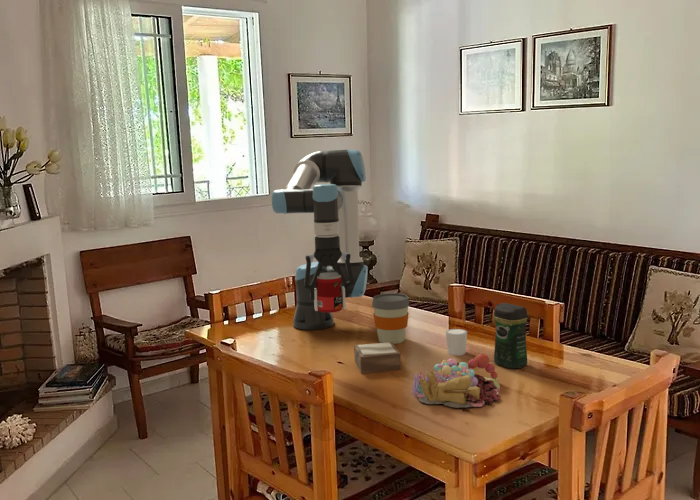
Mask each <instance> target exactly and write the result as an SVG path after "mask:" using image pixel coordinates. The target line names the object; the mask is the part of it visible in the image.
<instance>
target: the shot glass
mask: <svg viewBox="0 0 700 500" xmlns="http://www.w3.org/2000/svg"><path fill="white" fill-rule="evenodd" d="M467 338H468V331H467V330H465V329H462V328H450V329H447V330H446V331H445V339H446V349H447V354H448V355H450V356H463V355H465V354H466V351H467V340H468V339H467Z"/></svg>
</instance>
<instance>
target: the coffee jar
mask: <svg viewBox="0 0 700 500" xmlns="http://www.w3.org/2000/svg"><path fill="white" fill-rule="evenodd" d="M493 311H494V312H493V319H494V324H495V337H494V338H495V339H494V350H493V351H494V352H493V353H494V354H493V362H494V364H497V365H499V366H501V367H504V368H506V369H507V368H508V369H521V367H522V368H523V367H525V366H527V365H528V351H527V335H526V326H527V322H528V311H527V308H526V307H525V306H520V305H516V304H511V303H507V302H502V303H498V304H496V305H495V307H494V310H493Z"/></svg>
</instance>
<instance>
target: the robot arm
mask: <svg viewBox="0 0 700 500" xmlns="http://www.w3.org/2000/svg"><path fill="white" fill-rule="evenodd" d="M366 178H367V177H366V168H365V162H364V157H363V154H362V152H361V151H360V150H359V149H339V150H338V149H337V150H336V149H335V150H319V151H314V152H312V153H309V154H307V155H305V156H304V157H302V158H301V159H299V160H298V161H297V163H296V164H295V166H294V168H293V175H292V176H291V178H290V180H288V182H287V184H286V186H285V188H284V189H282V188H281V189H275V190H273V191H272V195H271V206H272V211H273V213H275V214H284V215H286V214H305V213H306V214H313V227H314V228H313V230H314V231H313V232H314V236H315V237H314V253H313V254H305V261H306V263H305V264H301V265H298V267H297V268H295V269H296V270H295V278H294V281H295V291H296V292H295V293H296V307H295V312H294V315H293V319H292V323H293V327H294V328H295V329H298V330H303V331H304V330H307V331H308V330H309V331H312V330H313V331H314V330H315V331H316V330H323V329H326V328H329V327H332V326H333V325H334V316H333V312H332V313H326V312H320V311H318V305H317V289H316V283H317V276H319V275H320V273H326V272H335V273H338V274H339V275H341V279H342V302H343V307H342V310H345V309H346V308H347V307H346V298H350V299H353V298H357V297H358V298H361V297H363V296H364V295H365V292H366V289H367V281H368V268H369V267H368V266H367V265H366V264H364V259H362V258H361V257H360V239H359V238H360V237H359V236H360V234H359V233H360V230H359V195H358V194H359V193H358V192H359V190H360V189H361V188H362V187H363V186H362V184H363V183H364V182H366ZM320 183H321V184H320ZM314 259H315V260H316V261H314Z"/></svg>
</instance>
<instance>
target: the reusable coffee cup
mask: <svg viewBox="0 0 700 500" xmlns="http://www.w3.org/2000/svg"><path fill="white" fill-rule="evenodd" d="M371 306H372V307H373V314H372V315H373V321H374V327H375V328H376V333H377V337H378V338H377V339H378V343H386V342H392V343H393V345H396V344H401V343H403V342H404V341H405V339H406V332H407V327H408V325H409V324H408V323H409V314H410V313H409V307H410V300H409V296H408V295H407V294H404V293H393V292H391V293H389V292H388V293H381V294H377V295H373V297H372V305H371Z"/></svg>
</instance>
